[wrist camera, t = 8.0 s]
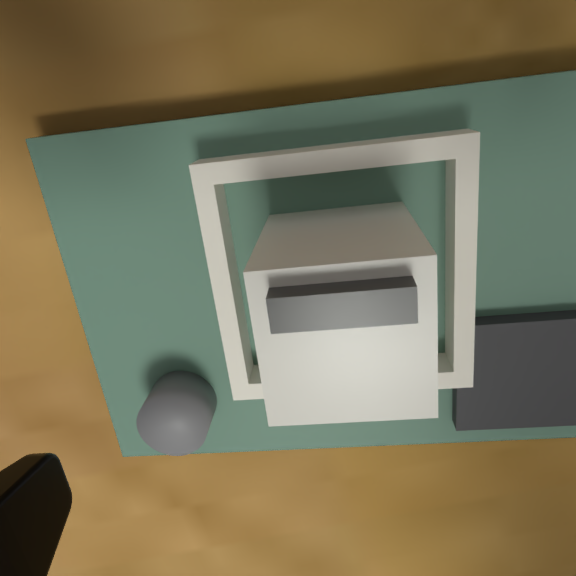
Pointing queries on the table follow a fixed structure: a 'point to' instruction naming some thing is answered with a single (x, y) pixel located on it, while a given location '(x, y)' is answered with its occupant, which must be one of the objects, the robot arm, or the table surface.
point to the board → (317, 196)
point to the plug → (345, 316)
